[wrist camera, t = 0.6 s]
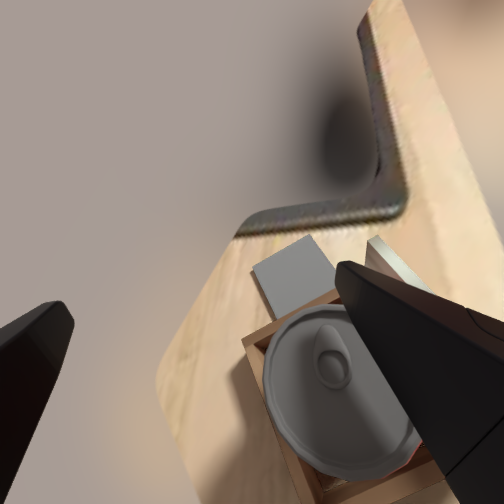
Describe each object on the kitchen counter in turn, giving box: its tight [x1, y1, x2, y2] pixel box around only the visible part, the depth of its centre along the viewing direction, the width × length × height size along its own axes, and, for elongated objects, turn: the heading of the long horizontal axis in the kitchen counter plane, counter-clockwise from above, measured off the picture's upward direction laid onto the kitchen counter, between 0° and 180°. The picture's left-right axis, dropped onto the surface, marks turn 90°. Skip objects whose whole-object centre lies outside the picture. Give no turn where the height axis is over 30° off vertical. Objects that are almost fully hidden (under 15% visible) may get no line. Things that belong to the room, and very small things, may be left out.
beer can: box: [262, 304, 422, 482], centre depth 13 cm, size 7×7×12 cm
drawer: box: [241, 235, 445, 504], centre depth 15 cm, size 12×12×8 cm
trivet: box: [252, 234, 336, 319], centre depth 24 cm, size 6×7×1 cm
